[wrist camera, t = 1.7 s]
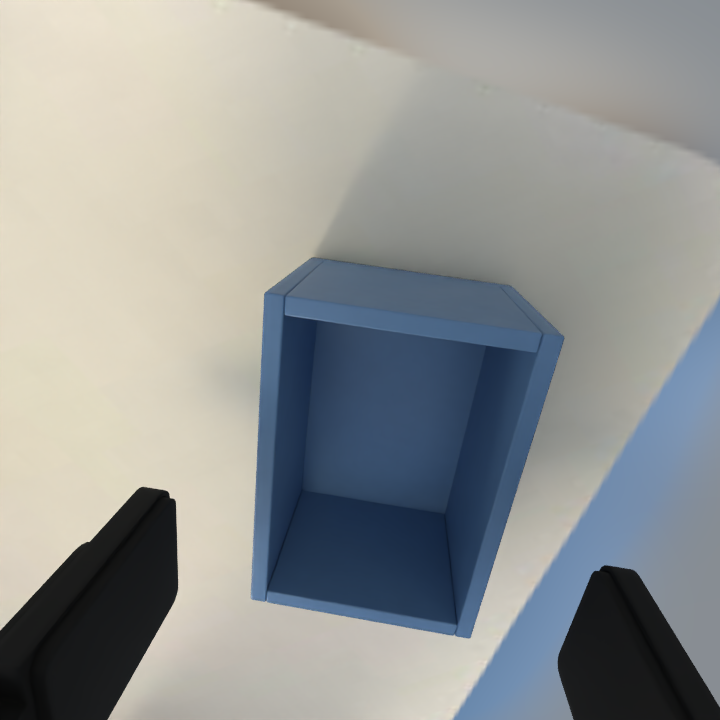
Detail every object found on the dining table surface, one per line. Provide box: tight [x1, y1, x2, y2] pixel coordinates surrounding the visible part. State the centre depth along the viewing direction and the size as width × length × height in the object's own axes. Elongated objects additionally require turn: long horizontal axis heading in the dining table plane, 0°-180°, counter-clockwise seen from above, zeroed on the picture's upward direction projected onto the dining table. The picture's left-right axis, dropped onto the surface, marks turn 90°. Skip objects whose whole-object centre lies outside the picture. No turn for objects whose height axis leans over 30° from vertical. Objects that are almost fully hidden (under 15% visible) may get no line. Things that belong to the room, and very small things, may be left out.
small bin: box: [251, 258, 564, 638], centre depth 15 cm, size 10×7×6 cm
